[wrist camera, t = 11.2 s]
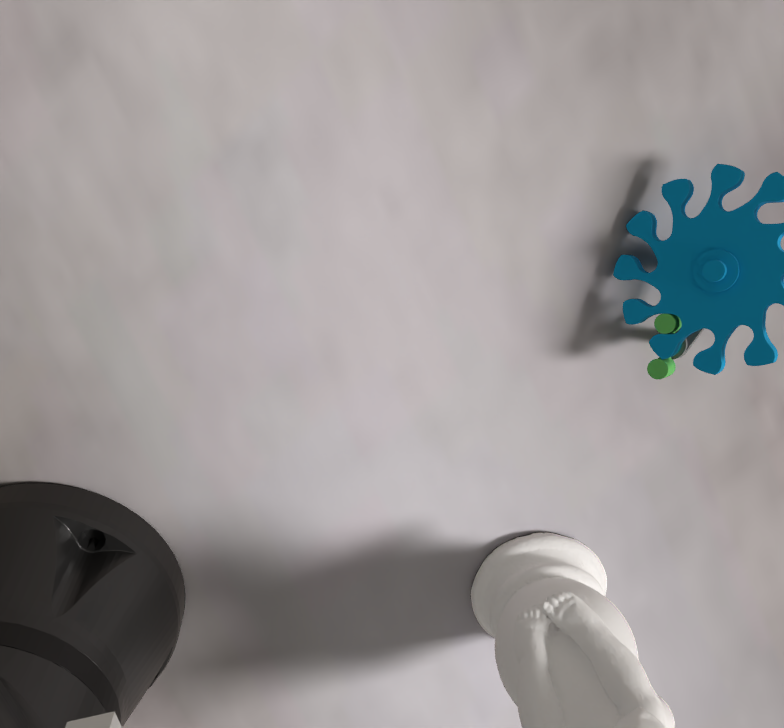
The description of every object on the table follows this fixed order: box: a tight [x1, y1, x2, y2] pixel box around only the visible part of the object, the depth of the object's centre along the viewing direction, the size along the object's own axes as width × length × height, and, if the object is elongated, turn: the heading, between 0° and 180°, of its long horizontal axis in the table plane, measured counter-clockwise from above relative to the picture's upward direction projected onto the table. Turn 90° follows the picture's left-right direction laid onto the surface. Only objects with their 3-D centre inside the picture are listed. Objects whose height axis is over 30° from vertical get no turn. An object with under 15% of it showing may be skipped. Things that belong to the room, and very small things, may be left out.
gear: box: [613, 164, 784, 379], centre depth 36 cm, size 11×6×10 cm
